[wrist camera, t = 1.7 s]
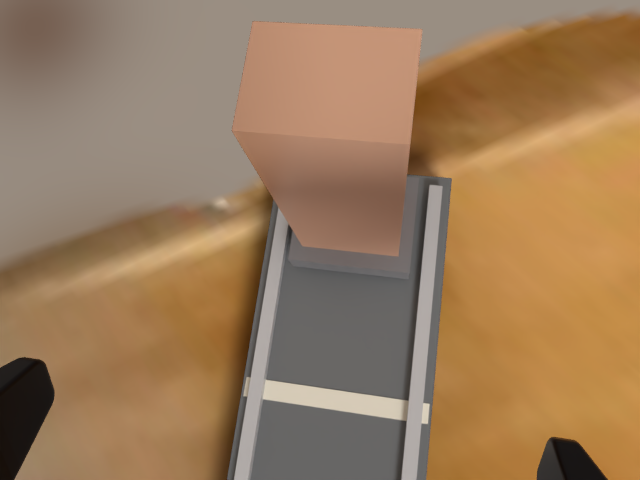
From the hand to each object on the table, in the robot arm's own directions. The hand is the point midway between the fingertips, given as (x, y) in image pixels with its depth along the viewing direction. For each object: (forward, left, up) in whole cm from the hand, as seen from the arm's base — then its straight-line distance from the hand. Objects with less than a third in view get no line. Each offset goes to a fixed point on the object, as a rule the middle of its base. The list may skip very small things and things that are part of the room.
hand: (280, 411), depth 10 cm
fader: (+6, +3, -10) cm, 12 cm away
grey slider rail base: (-1, -1, -13) cm, 13 cm away
